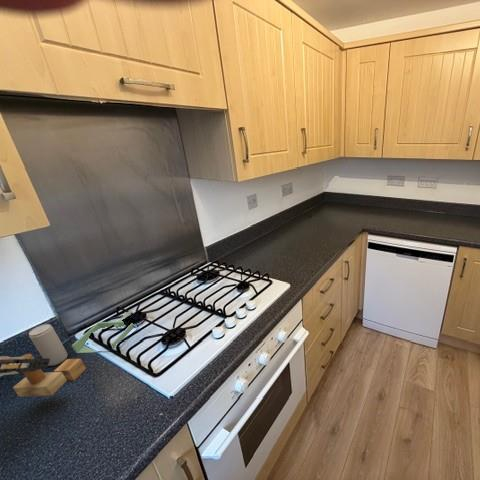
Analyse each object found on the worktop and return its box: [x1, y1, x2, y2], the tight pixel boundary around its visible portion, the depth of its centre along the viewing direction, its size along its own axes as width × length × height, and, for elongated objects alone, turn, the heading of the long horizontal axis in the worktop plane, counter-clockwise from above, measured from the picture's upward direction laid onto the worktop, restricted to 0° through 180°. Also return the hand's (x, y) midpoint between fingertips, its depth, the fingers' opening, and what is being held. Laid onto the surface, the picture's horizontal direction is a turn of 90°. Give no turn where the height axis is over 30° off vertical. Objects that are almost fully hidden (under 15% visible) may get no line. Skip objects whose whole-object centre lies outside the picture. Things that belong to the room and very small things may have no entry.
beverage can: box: [28, 323, 69, 367], centre depth 76 cm, size 5×5×12 cm
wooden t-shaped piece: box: [12, 353, 68, 397], centre depth 61 cm, size 8×4×10 cm, turn 90°
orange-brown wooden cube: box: [53, 358, 87, 382], centre depth 73 cm, size 4×4×4 cm
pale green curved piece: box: [71, 310, 134, 354], centre depth 88 cm, size 18×13×3 cm
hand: (40, 363), depth 63 cm, fingers closed on wooden t-shaped piece, 2 cm apart
